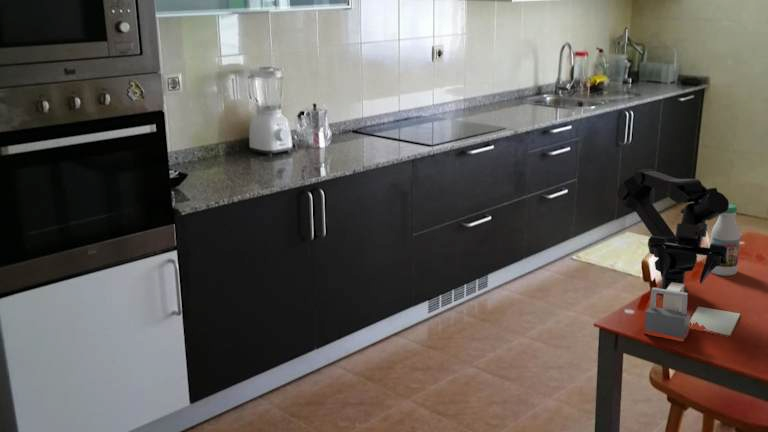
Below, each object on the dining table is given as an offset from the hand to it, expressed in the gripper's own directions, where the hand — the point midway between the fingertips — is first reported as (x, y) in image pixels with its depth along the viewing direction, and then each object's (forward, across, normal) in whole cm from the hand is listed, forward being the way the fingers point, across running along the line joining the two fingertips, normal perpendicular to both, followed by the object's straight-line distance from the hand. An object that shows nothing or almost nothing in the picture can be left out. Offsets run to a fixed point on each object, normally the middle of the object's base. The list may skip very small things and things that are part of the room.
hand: (681, 279), depth 196 cm
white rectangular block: (+11, 0, +4) cm, 12 cm away
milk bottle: (-20, +5, +36) cm, 41 cm away
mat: (+6, +8, +8) cm, 13 cm away
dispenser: (+15, -1, 0) cm, 15 cm away
